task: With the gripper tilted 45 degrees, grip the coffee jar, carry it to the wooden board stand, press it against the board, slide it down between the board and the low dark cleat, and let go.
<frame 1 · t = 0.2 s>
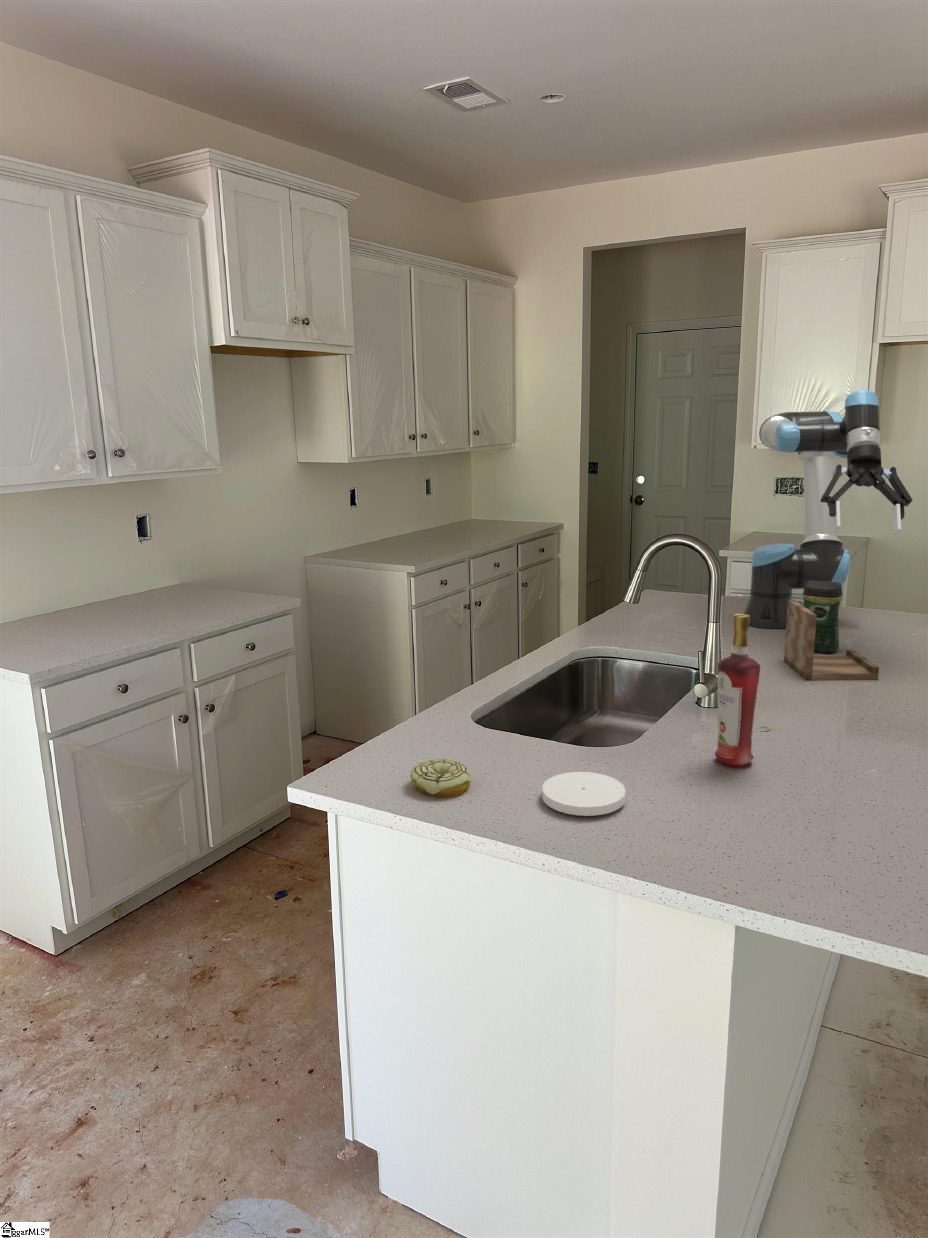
hand: (867, 530, 207), 35 cm above the worktop, tool tilted 35°, fingers open, 13 cm apart
decorated donut: (441, 788, 155), on the worktop
liquor: (733, 763, 163), on the worktop
coffee jar: (818, 650, 234), on the worktop
plastic lid: (583, 803, 148), on the worktop
wooden board stand: (829, 669, 216), on the worktop
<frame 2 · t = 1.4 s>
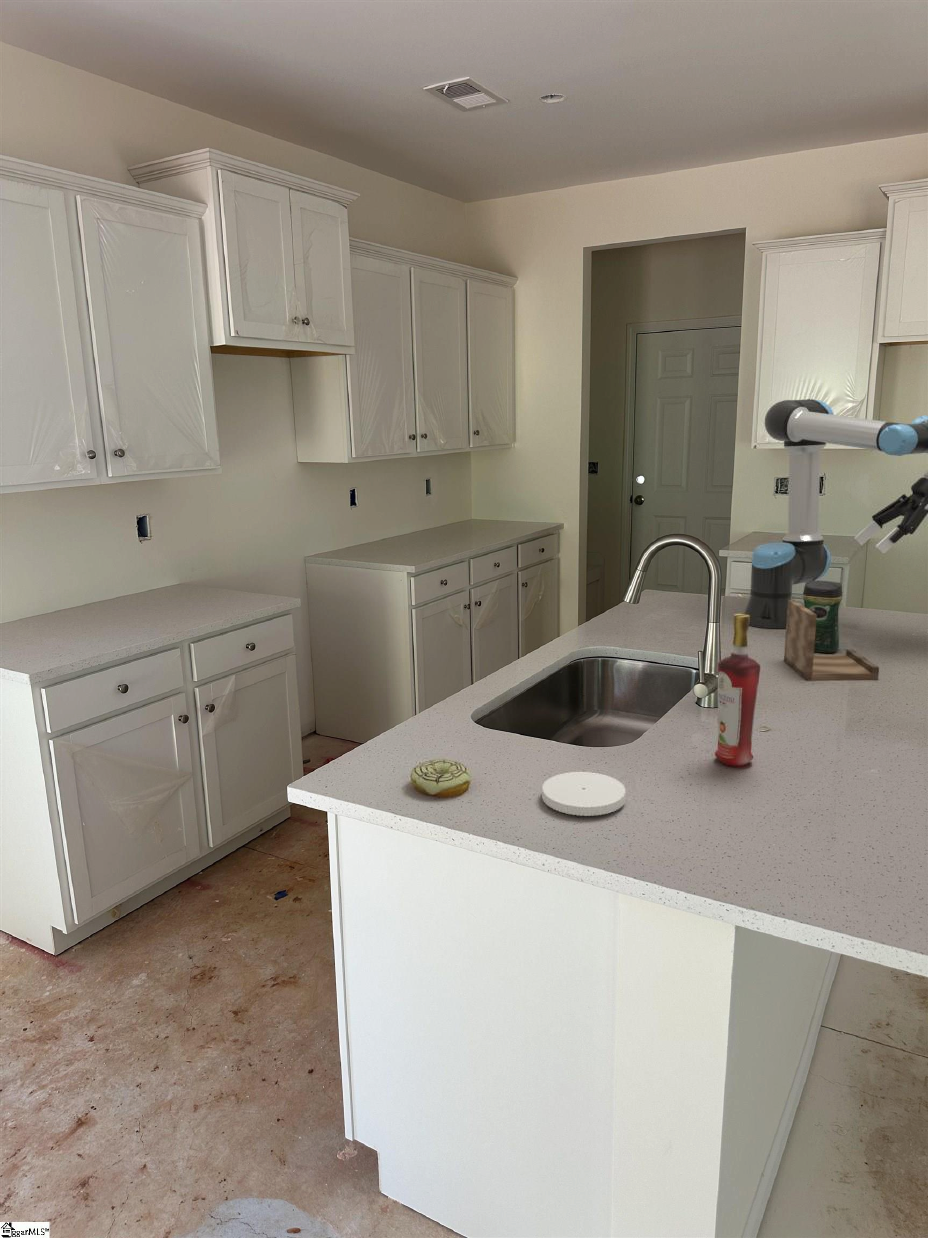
hand: (868, 545, 226), 28 cm above the worktop, tool tilted 45°, fingers open, 13 cm apart
nothing on the worktop moved.
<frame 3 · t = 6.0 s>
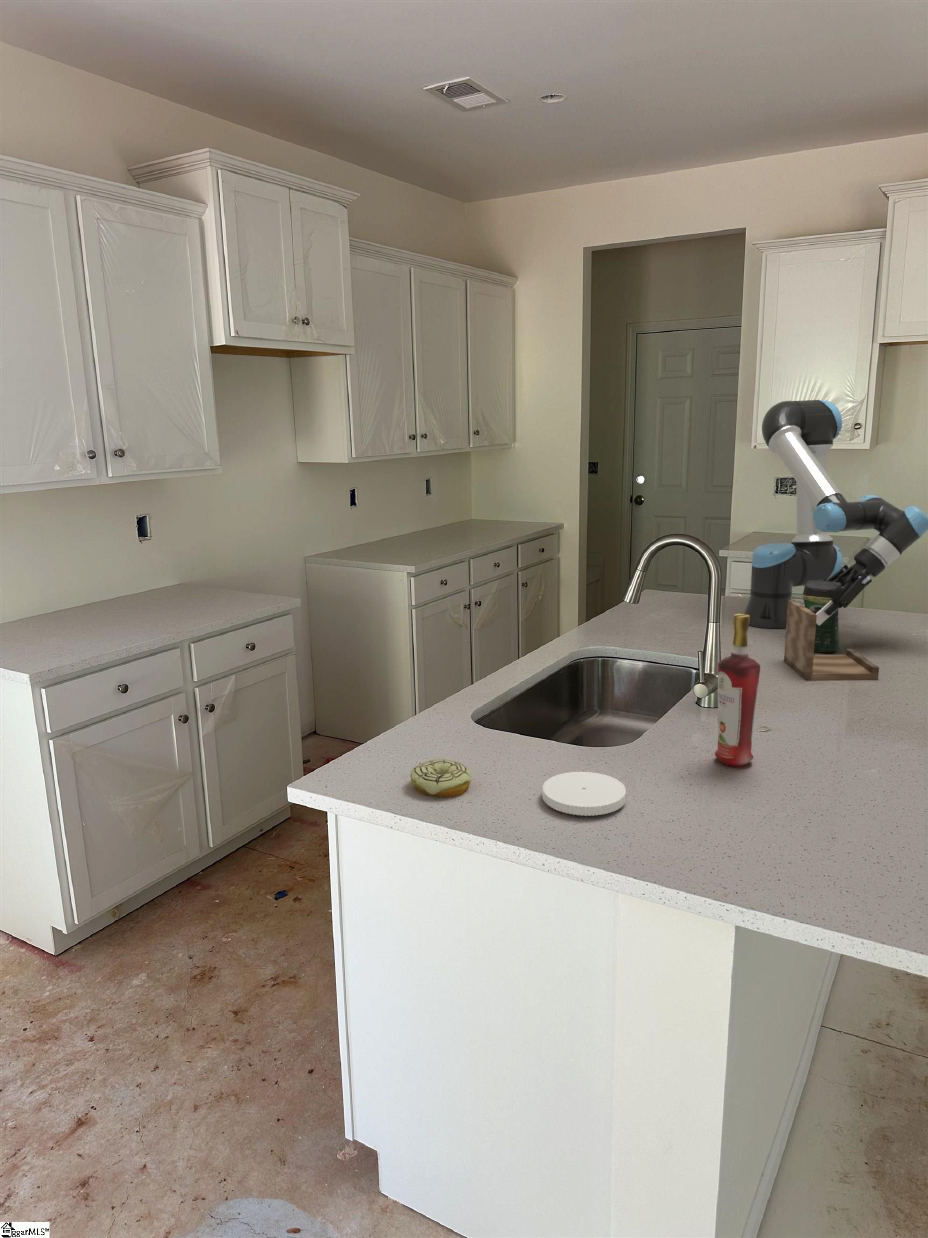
hand: (808, 617, 231), 9 cm above the worktop, tool tilted 45°, fingers closed on coffee jar, 9 cm apart
coffee jar: (818, 650, 234), on the worktop, touching gripper
everything else where it was.
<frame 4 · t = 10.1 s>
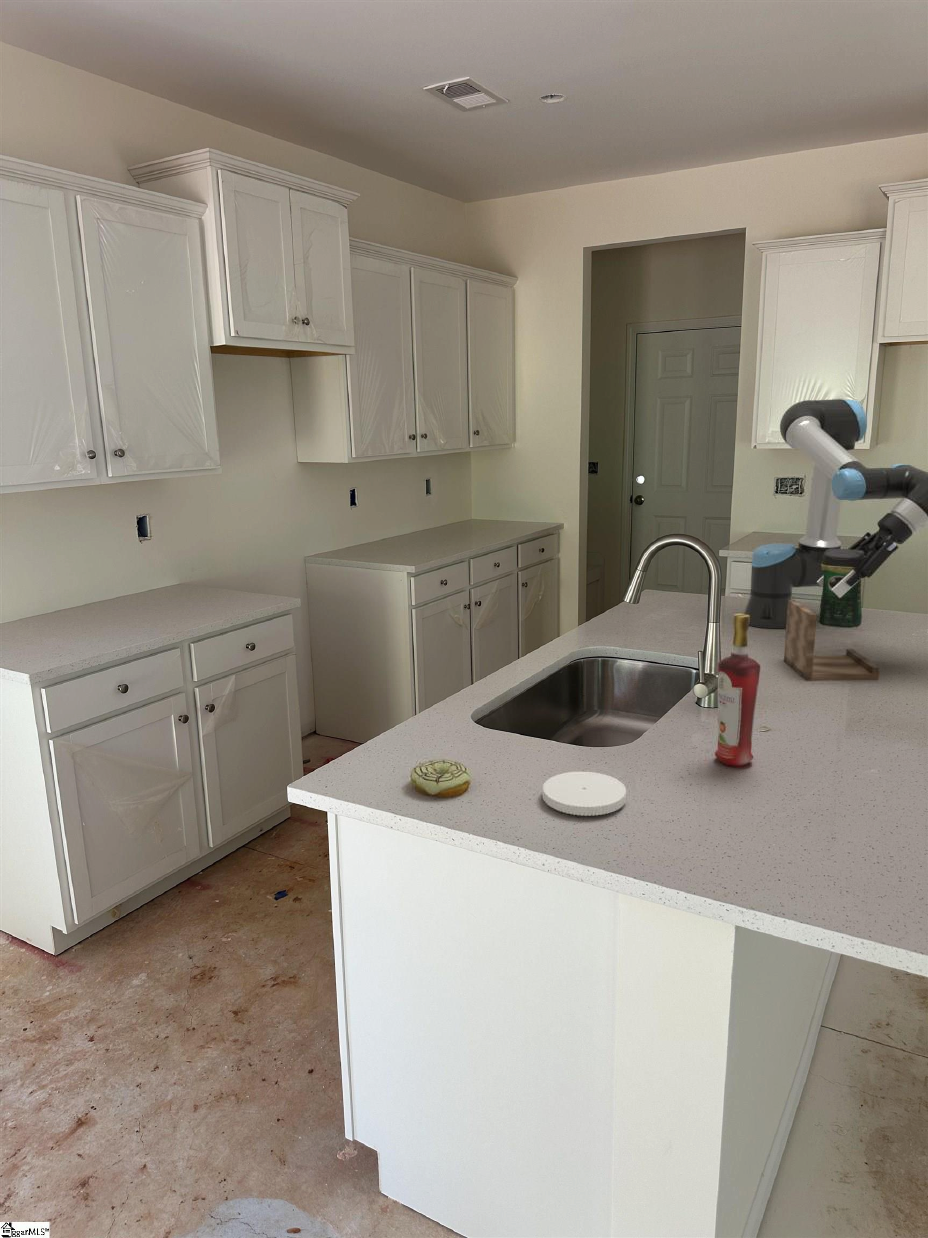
hand: (828, 589, 211), 20 cm above the worktop, tool tilted 45°, fingers closed on coffee jar, 9 cm apart
coffee jar: (839, 625, 213), point 11 cm above the worktop, touching gripper
everything else where it was.
when the fingers open (12 cm above the worktop, at t = 14.2 s): coffee jar drops 1 cm, resting on wooden board stand.
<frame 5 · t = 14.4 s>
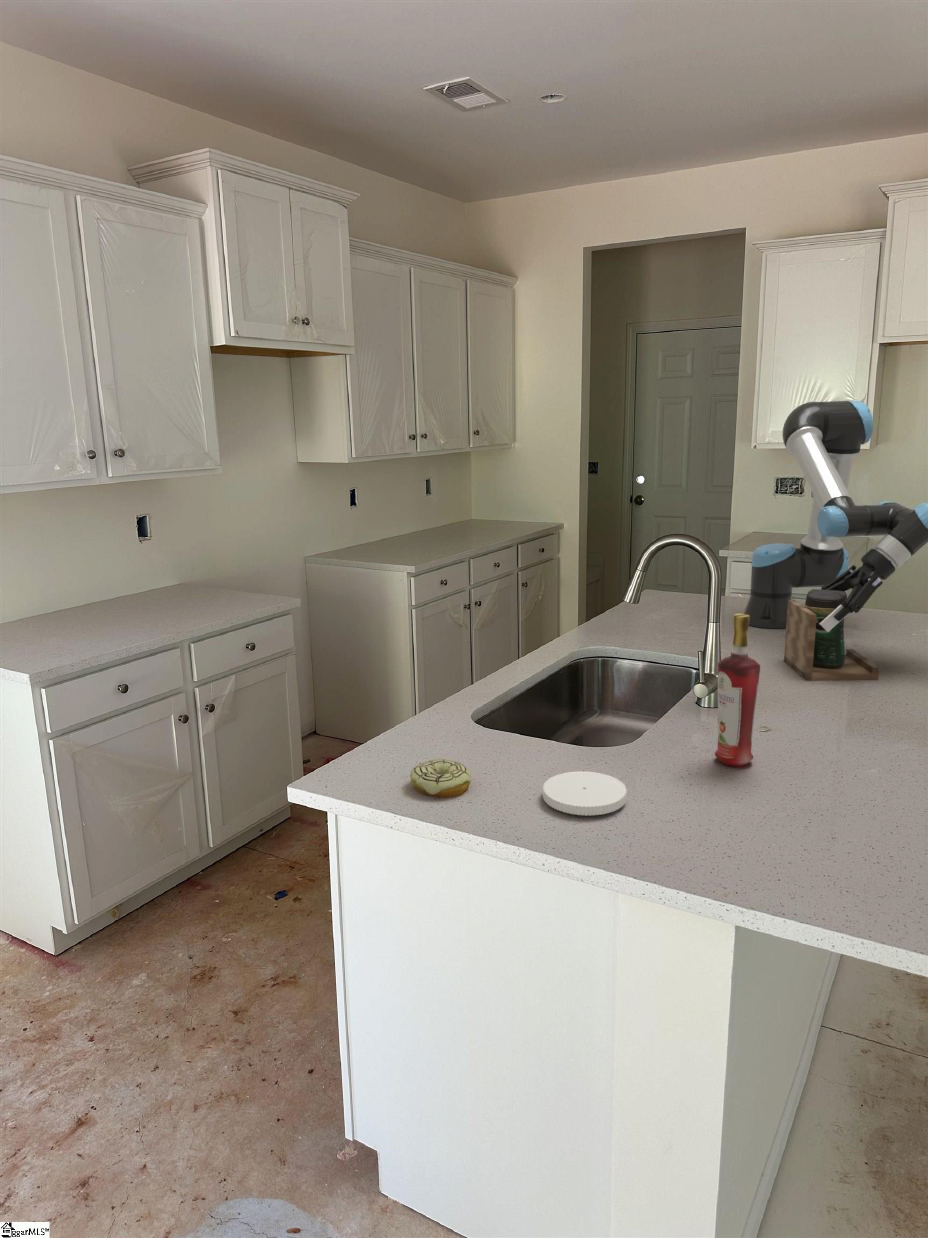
hand: (814, 621, 213), 12 cm above the worktop, tool tilted 45°, fingers open, 11 cm apart
coffee jar: (822, 664, 216), point 1 cm above the worktop, touching wooden board stand
everything else where it was.
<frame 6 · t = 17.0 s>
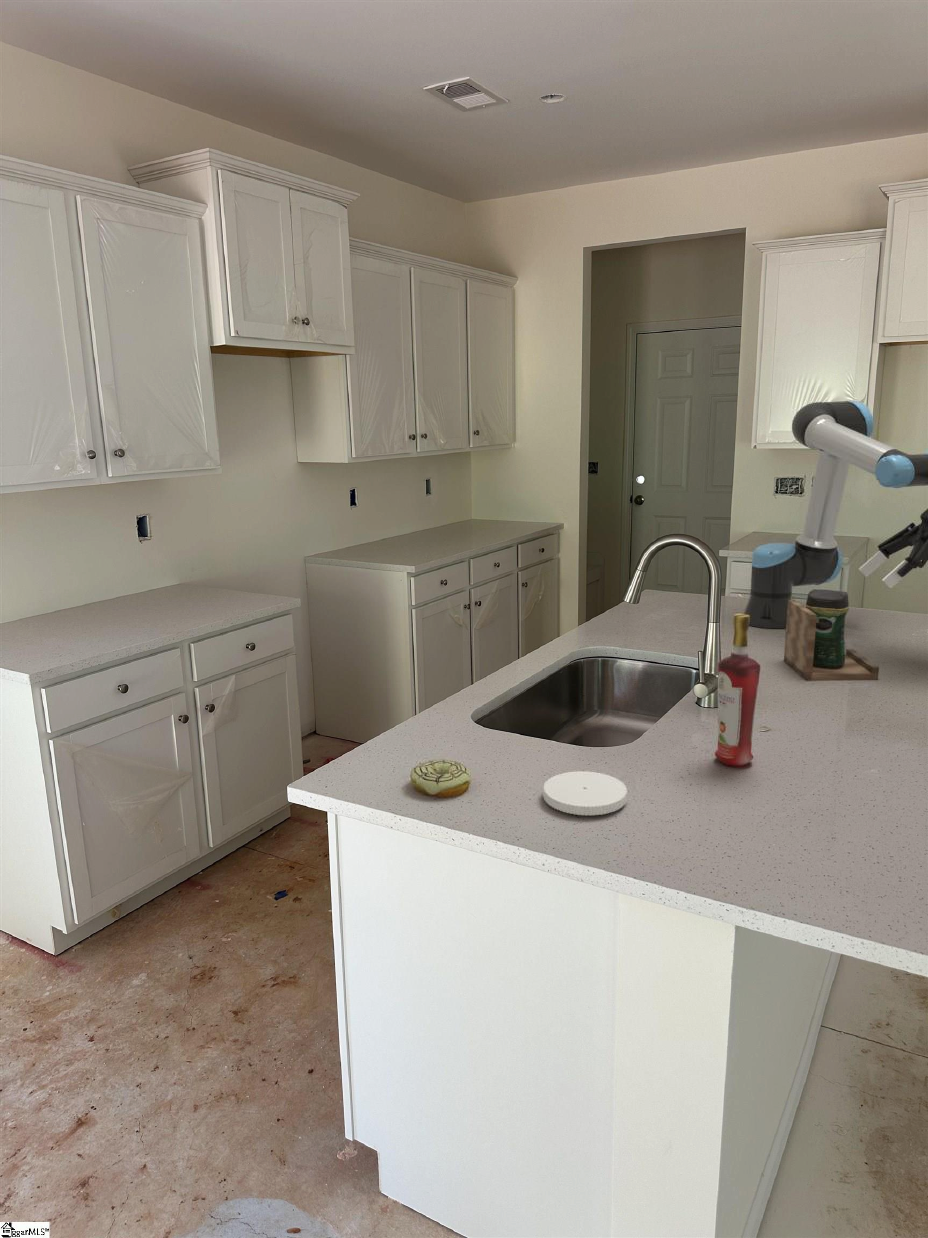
hand: (873, 578, 210), 23 cm above the worktop, tool tilted 45°, fingers open, 13 cm apart
nothing on the worktop moved.
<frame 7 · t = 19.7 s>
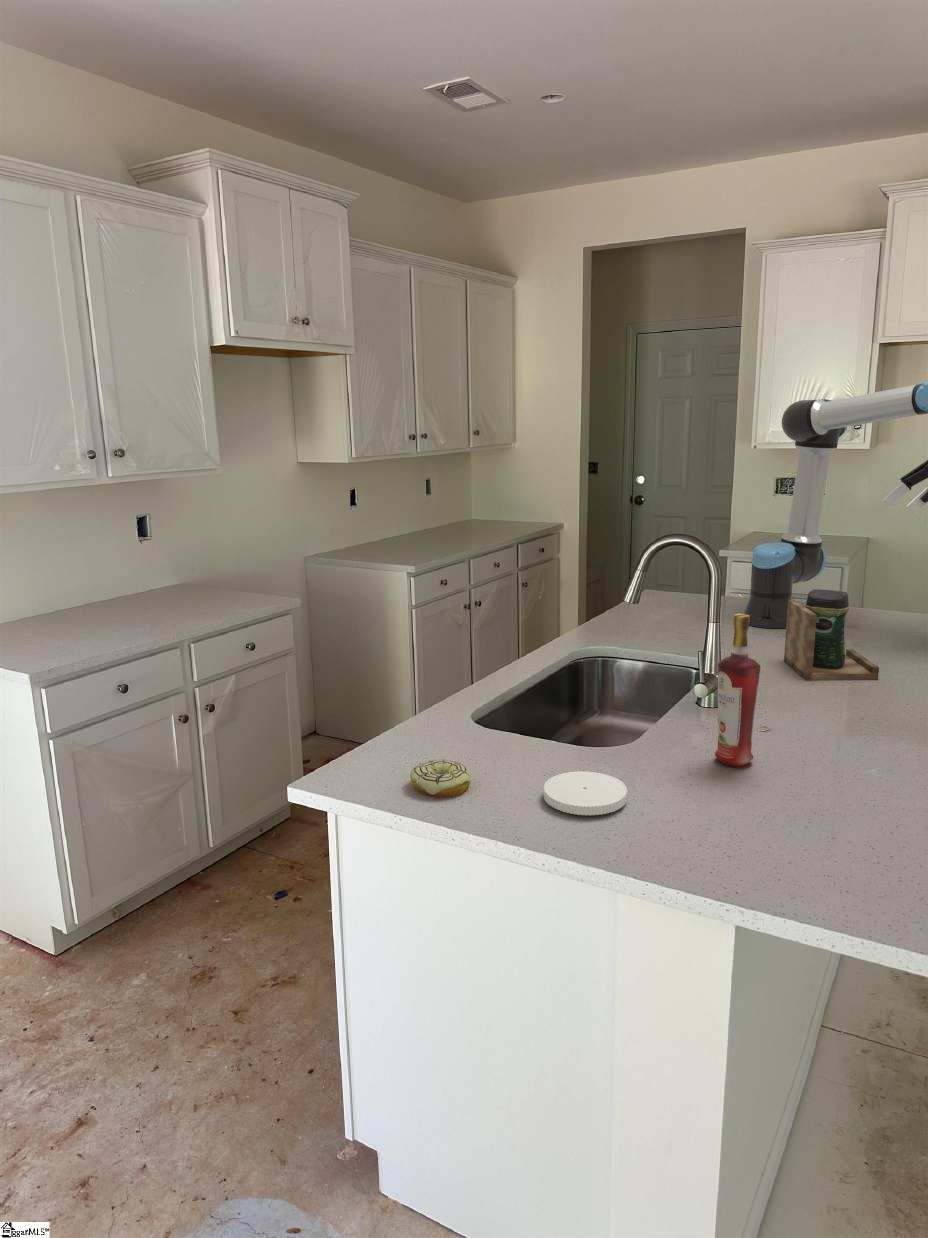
hand: (897, 506, 223), 38 cm above the worktop, tool tilted 45°, fingers open, 13 cm apart
nothing on the worktop moved.
at the end: coffee jar inside the target area on the wooden board stand (0.1 cm from its centre), point 1.3 cm above the wooden board stand's base; coffee jar tilted 0°; the gripper is holding nothing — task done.
